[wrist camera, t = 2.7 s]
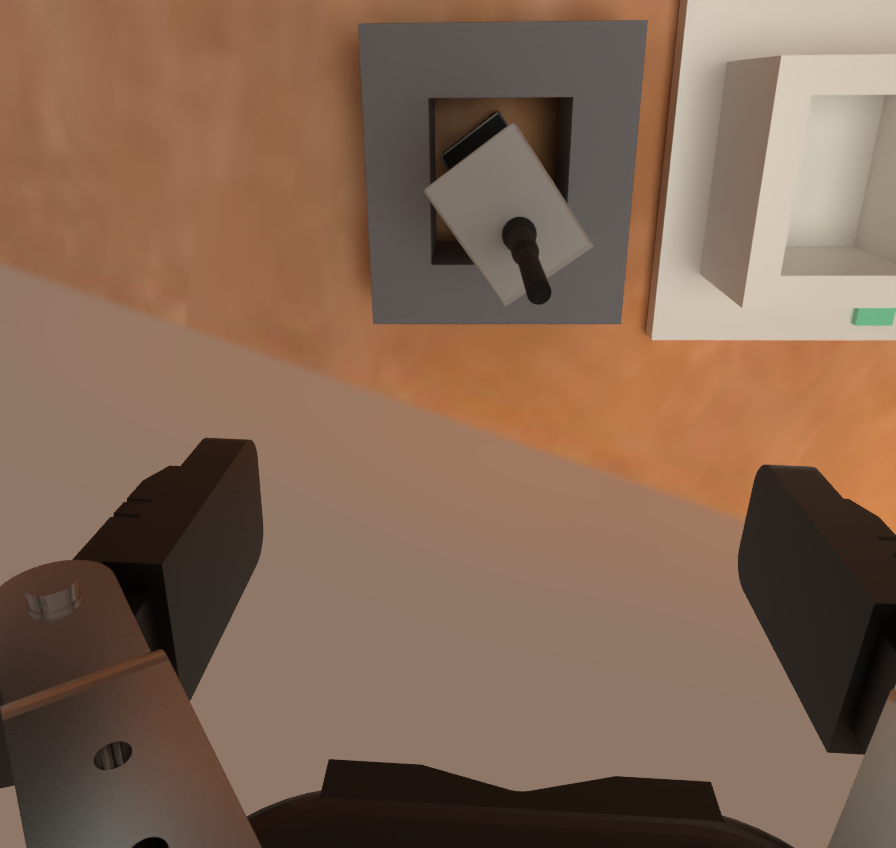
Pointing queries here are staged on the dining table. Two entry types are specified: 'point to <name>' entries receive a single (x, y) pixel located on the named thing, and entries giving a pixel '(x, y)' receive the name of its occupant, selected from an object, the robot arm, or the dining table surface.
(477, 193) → the vintage mobile phone
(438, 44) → the holster
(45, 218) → the dining table surface
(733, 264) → the charging dock
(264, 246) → the dining table surface
